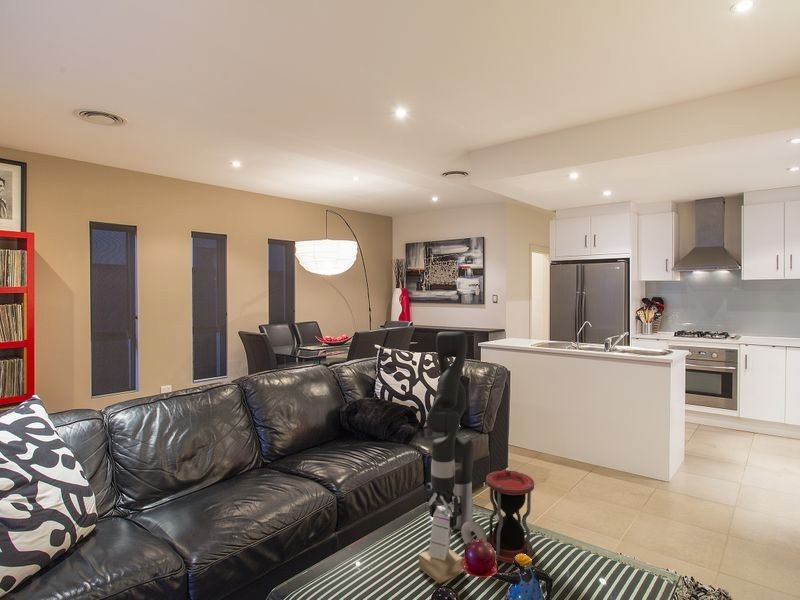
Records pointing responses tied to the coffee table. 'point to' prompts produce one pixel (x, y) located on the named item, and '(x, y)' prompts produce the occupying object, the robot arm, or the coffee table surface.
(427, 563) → the oak block
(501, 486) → the hourglass
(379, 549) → the coffee table surface
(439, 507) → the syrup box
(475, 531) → the donut
